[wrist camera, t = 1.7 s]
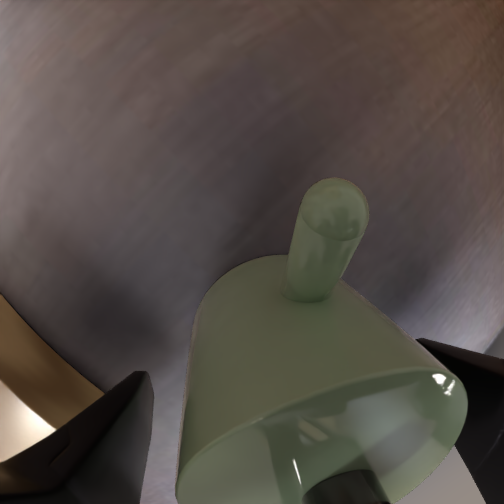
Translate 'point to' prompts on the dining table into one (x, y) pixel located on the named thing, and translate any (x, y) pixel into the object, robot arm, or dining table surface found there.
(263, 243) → the dining table surface
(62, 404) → the stand
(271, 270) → the kettle
